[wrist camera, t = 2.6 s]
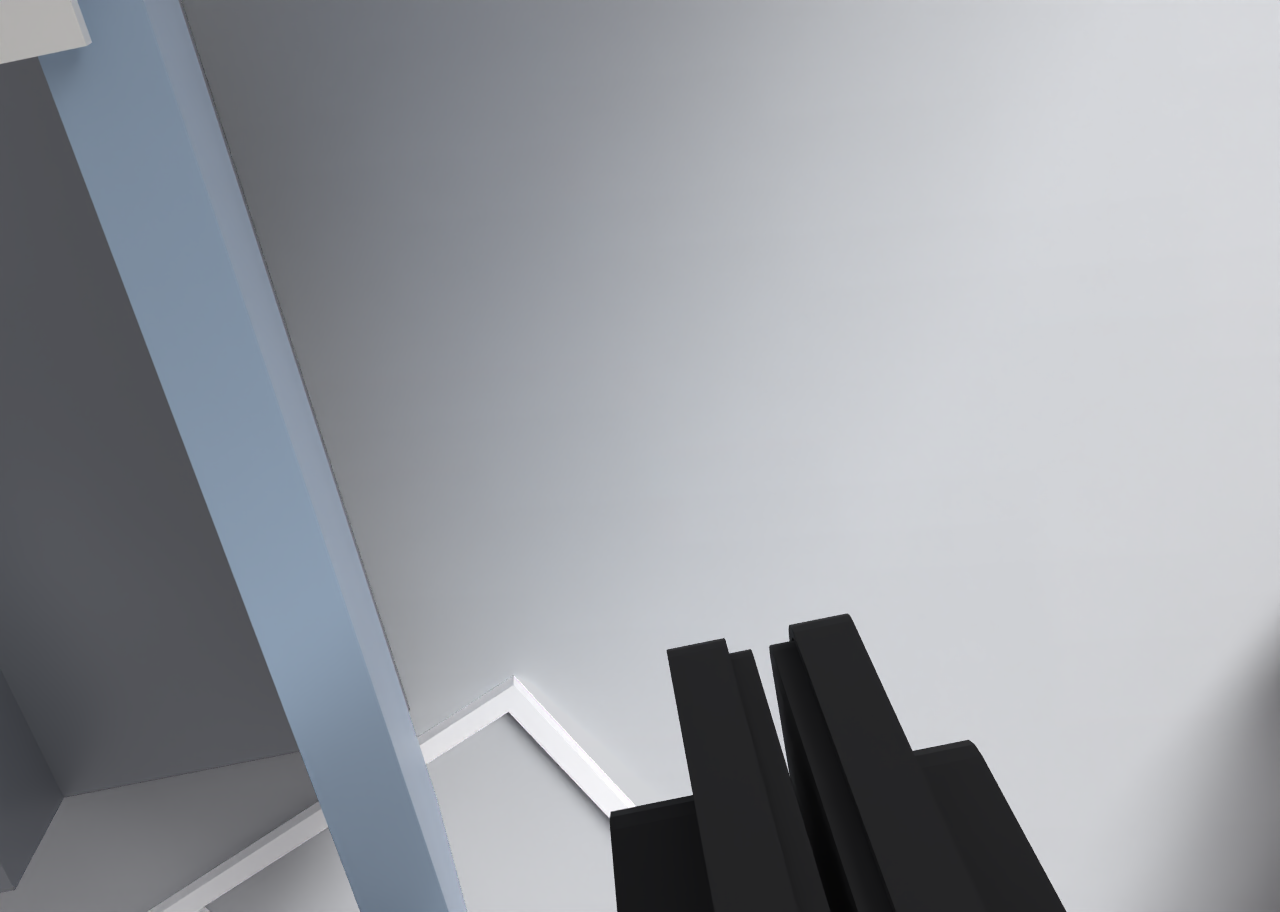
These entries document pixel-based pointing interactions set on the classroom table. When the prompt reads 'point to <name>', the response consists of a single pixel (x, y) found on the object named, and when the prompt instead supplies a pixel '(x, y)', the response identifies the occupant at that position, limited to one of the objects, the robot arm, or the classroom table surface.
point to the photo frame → (508, 696)
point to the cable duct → (101, 519)
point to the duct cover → (244, 422)
